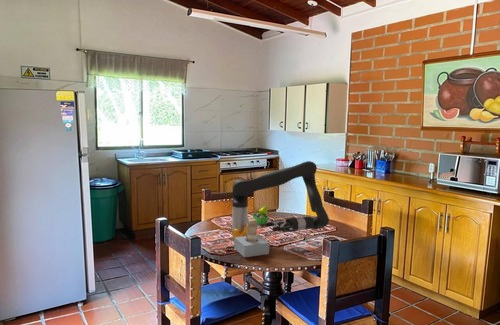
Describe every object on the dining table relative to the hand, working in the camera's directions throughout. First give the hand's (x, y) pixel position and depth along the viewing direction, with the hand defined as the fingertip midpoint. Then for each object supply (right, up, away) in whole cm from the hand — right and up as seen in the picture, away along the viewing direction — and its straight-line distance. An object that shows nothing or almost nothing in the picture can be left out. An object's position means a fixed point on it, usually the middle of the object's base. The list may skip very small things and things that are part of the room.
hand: (269, 227), depth 192 cm
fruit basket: (-3, -7, +51) cm, 52 cm away
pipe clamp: (-15, -10, +17) cm, 25 cm away
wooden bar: (-10, -11, -3) cm, 15 cm away
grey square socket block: (-10, -12, -3) cm, 16 cm away
